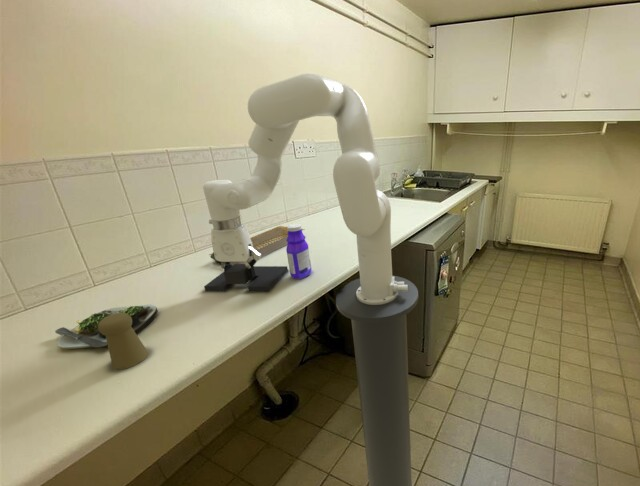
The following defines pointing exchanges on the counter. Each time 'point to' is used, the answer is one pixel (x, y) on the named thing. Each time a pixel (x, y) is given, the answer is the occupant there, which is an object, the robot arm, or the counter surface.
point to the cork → (122, 341)
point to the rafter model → (266, 236)
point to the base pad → (261, 281)
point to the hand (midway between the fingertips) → (241, 277)
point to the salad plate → (88, 328)
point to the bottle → (297, 252)
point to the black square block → (236, 274)
